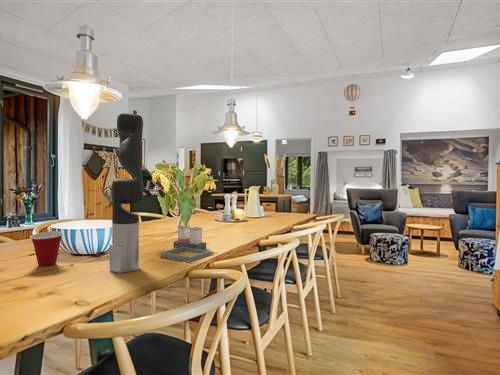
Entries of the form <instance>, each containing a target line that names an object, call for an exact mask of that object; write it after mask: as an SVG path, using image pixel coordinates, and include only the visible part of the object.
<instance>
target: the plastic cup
mask: <svg viewBox="0 0 500 375" xmlns="http://www.w3.org/2000/svg"><path fill="white" fill-rule="evenodd" d="M63 234H64V232H62V231H56V230H55V231H54V230H53V231H45V232H39V233H34V234H32V235H30V236H29V238H30V239H31V241H32V243H33V246H34V252H35V257H36V262H37V264H38V267H42V268H43V267H51V266H55V265H56V264H57V260H58V255H59V250H60V245H61V240H62V236H63Z"/></svg>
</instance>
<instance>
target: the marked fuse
mask: <svg viewBox="0 0 500 375" xmlns="http://www.w3.org/2000/svg"><path fill="white" fill-rule="evenodd" d="M190 228H191V226H190V225H179V226H177V241H178V242H189V241H190Z"/></svg>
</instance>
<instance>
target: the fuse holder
mask: <svg viewBox="0 0 500 375" xmlns="http://www.w3.org/2000/svg"><path fill="white" fill-rule="evenodd" d="M180 247H188V248H195V249H202V250H207V242H205V241H202V243H200V244H192V243H190V241H189V242H178V240H174V241H173V249H176V248H180Z"/></svg>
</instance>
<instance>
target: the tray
mask: <svg viewBox="0 0 500 375" xmlns="http://www.w3.org/2000/svg"><path fill="white" fill-rule="evenodd" d="M181 252H189V253H196V254H195V255H191V256H188V255H183V254H182V255H181V254H178V253H181ZM176 253H177V254H176ZM211 255H212V250H209V249H208V250H207V249H204V250H202V249H195V248H188V247H180V248H173V249H169V250H165V251H161V252H160V259H163V260H169V261H173V260H174V261H173V262H179V263H184V262H185V263H186V264H192V261H195V260H199V259H201V258H205V257H207V256H211Z"/></svg>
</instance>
